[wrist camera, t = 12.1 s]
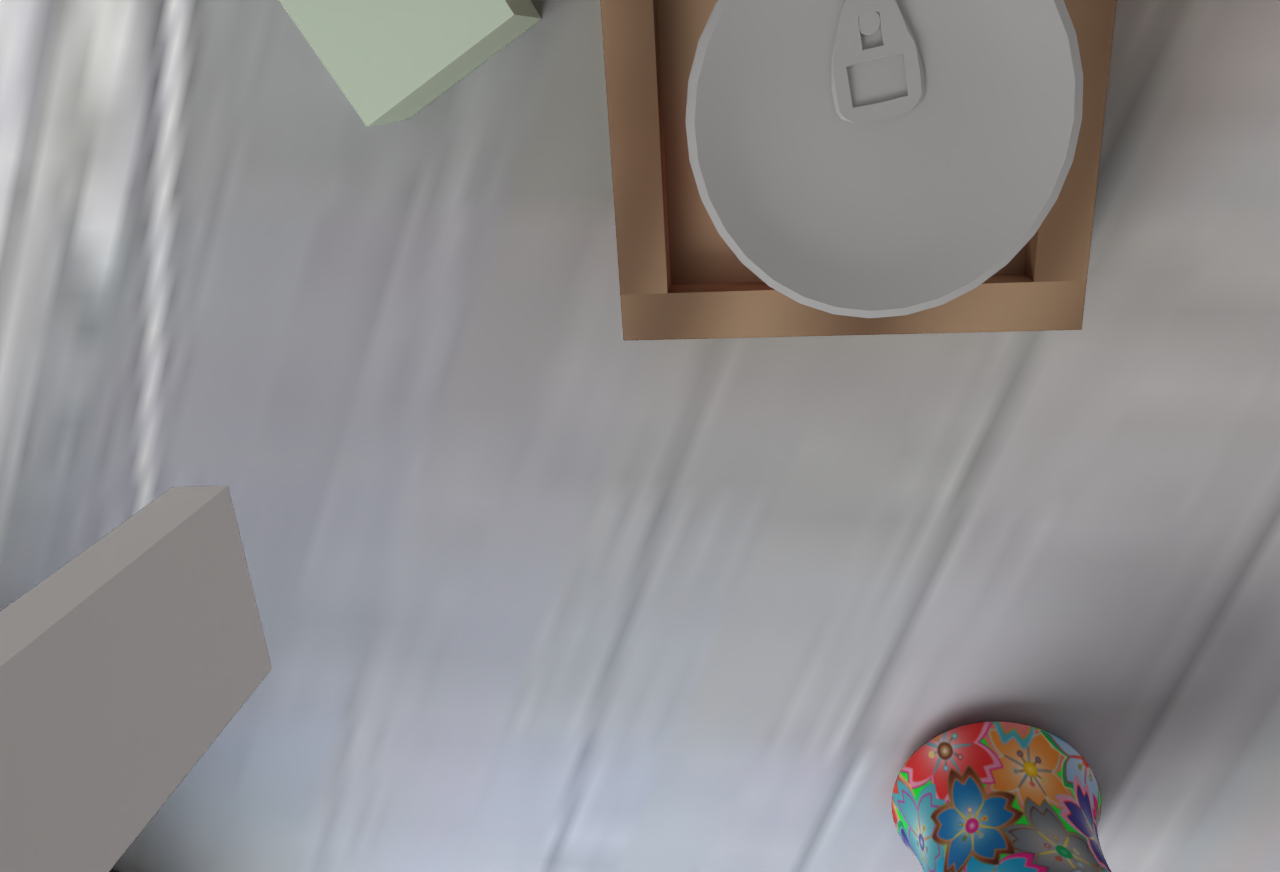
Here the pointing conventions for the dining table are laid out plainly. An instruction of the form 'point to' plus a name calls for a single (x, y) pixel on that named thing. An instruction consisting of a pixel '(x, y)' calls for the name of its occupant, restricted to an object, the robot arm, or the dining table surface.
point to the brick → (405, 46)
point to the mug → (999, 802)
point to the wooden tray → (731, 293)
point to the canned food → (882, 142)
